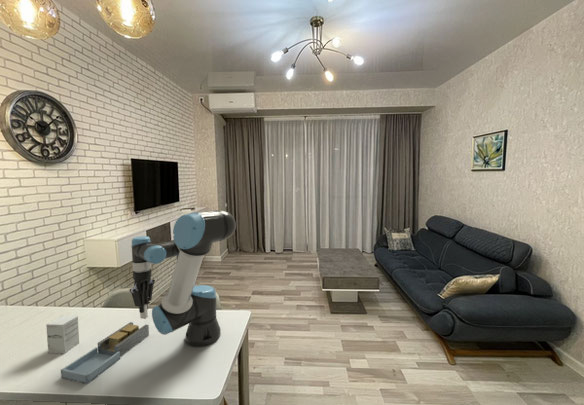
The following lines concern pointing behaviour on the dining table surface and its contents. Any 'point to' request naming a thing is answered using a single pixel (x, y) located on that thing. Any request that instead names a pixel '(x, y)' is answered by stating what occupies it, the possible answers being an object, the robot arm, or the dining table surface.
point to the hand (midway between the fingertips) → (144, 317)
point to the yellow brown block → (117, 338)
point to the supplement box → (62, 334)
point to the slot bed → (123, 342)
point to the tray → (89, 366)
